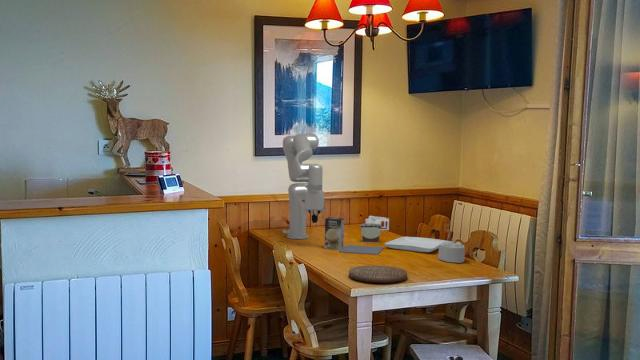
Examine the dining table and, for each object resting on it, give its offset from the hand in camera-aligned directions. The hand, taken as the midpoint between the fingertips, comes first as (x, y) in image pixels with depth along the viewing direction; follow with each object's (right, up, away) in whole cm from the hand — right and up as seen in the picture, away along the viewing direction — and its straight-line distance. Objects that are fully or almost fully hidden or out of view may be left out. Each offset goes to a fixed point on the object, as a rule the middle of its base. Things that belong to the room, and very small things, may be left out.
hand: (314, 222), depth 328 cm
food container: (+31, -12, +21) cm, 40 cm away
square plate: (+55, -14, +4) cm, 57 cm away
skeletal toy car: (+39, -9, +70) cm, 81 cm away
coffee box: (+10, -14, -2) cm, 17 cm away
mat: (+25, -14, -5) cm, 29 cm away
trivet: (+28, -19, -63) cm, 71 cm away
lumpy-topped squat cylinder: (+67, -17, -27) cm, 74 cm away
